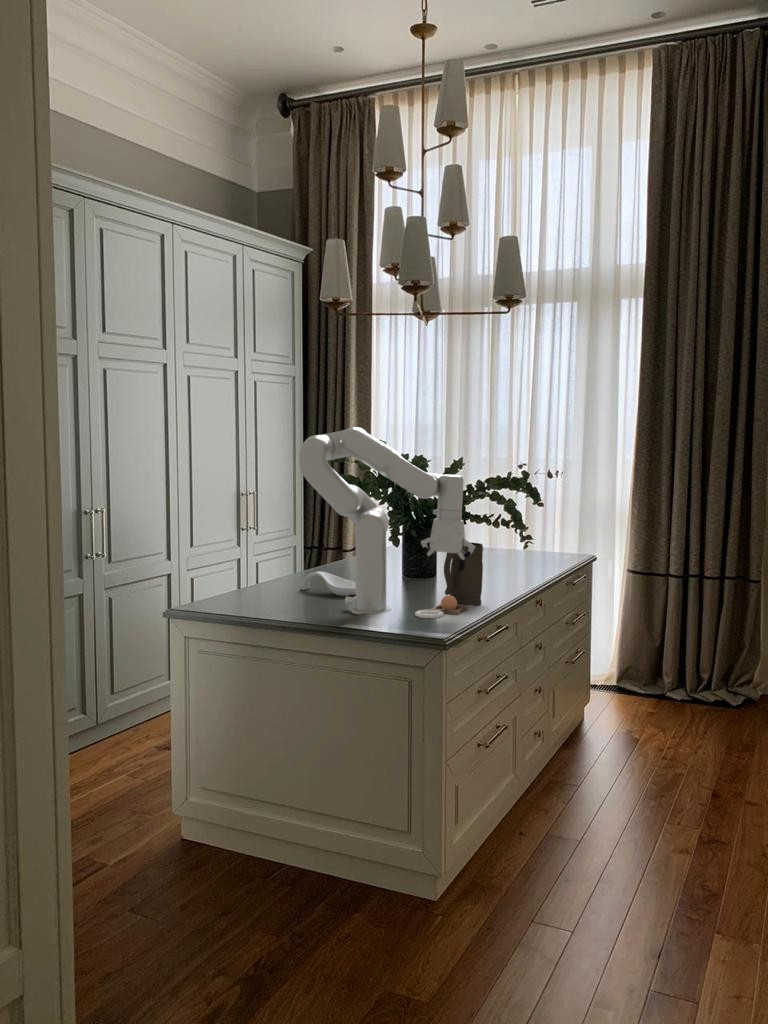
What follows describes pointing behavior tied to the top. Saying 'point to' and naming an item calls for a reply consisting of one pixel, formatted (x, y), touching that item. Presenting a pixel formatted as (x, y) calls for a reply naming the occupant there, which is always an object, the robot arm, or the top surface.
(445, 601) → the ball
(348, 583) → the spoon rest
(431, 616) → the octagonal white dish
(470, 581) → the beer stein
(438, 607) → the tray
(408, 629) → the top surface
